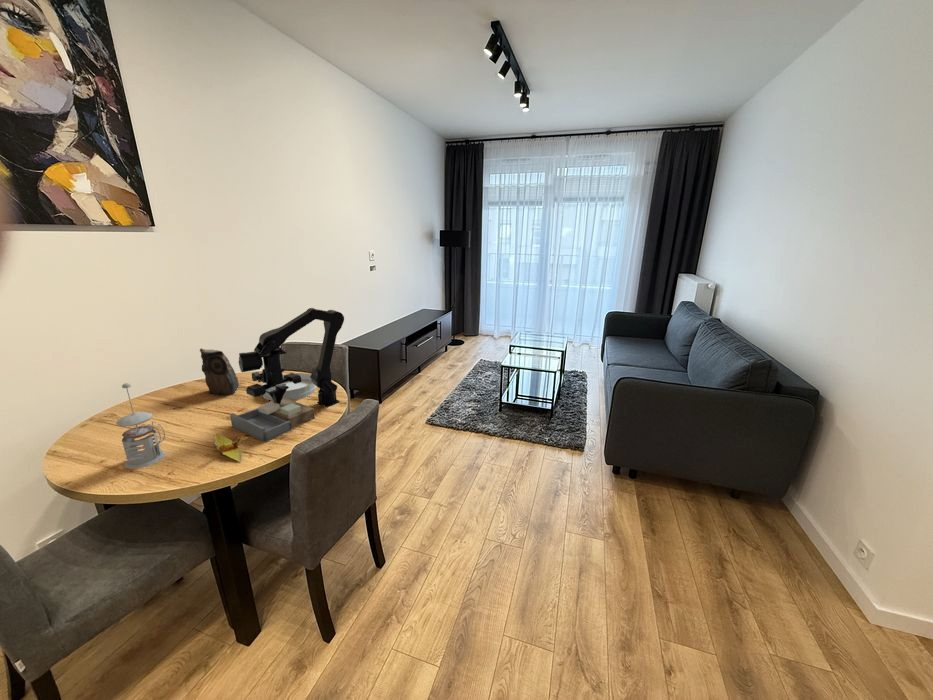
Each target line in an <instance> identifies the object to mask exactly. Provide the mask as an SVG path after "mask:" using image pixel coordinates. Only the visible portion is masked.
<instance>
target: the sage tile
mask: <svg viewBox="0 0 933 700" xmlns="http://www.w3.org/2000/svg"><path fill="white" fill-rule="evenodd" d="M300 411H301V406H299V405H296V404H293V403H291V404H289V405H286V406H284V407H281V408H280V412H281V413H282V414H285V415H287V416H291V415H293V414H295V413H298V412H300Z"/></svg>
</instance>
